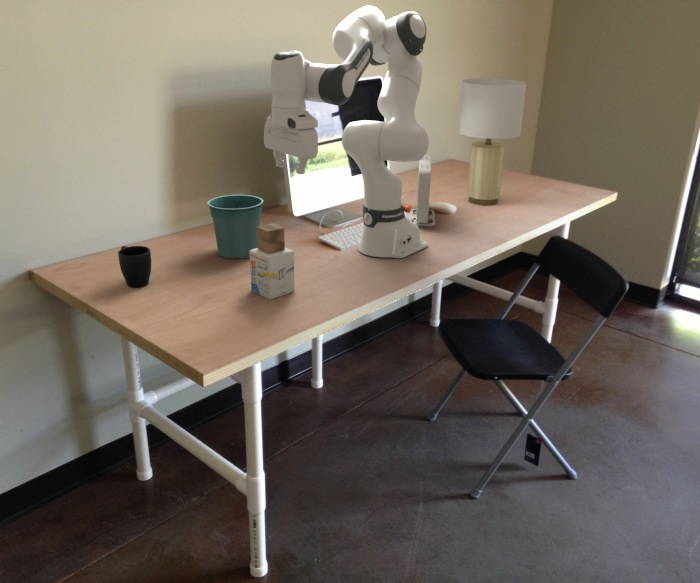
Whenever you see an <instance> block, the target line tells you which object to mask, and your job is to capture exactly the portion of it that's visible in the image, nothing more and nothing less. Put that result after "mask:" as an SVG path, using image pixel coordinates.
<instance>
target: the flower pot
mask: <svg viewBox="0 0 700 583" xmlns="http://www.w3.org/2000/svg"><path fill="white" fill-rule="evenodd" d="M263 204H264V199H263V198H261V197H259V196H256V195H249V194H230V195H229V194H227V195H221V196H217V197H213V198H211V199H209V200H208V201H207V206H208V207H209V211H210V212H209V213H210V216H211V218H212V222H213V228H214V229H213V230H214V234H215V240H216V247H217V248H216V249H217V252H218V255H219V256H221V257H222V258H225V259H231V260H232V259H236V258H239V259H247V258H248V259H249V258H250V252H249V250H252V249H255V248H258V241H257V227H258V226H261V225H260V224H261V223H260V222H261V215H262V208H263V207H262V206H263Z"/></svg>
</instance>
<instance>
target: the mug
mask: <svg viewBox="0 0 700 583" xmlns="http://www.w3.org/2000/svg"><path fill="white" fill-rule="evenodd" d="M117 255H118V263H119V268H120V271H121V273H122V276H123V278H124V280H125V283H126V285H127V287H129V288H132V289H140V288H145V287H146V286H148V285H149V283H150V279H151V278H150V277H151V273H152V254H151V249H150V247H147V246H143V245H133V246H132V245H131V246H126V245H122V246H121V247H120V249H119V250H118V252H117Z"/></svg>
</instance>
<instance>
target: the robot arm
mask: <svg viewBox="0 0 700 583" xmlns="http://www.w3.org/2000/svg"><path fill="white" fill-rule="evenodd" d="M424 20H425V19H423V17H422V16H421V15H420V14H419V13H417V11H413V10H411V11H404V12H402V13H399V15H396V16H392V18H389V19H387V20H386V18H385V15H384V14H383V12H382V11H381V10H380V9H379V8H377V7H376V6H373V5H365V6H363V7H360V8H358V9H356V10H355V11H353V12H352V13H350V14H349V15H347V16H346V18H344V19H343V20H342V21H341V22H340V23H339V24H338V25H337V26H336V28H335V29H334V31H333V34H332V45H333V49H334V51H335V53H336V54H337V56H338V57H339V58H340V59H341V60H343V62H342V63H338V64H326V63H315V62H311V61H309V60H307V59H305V58H304V56H303V53H302V52H301V51H298V50H296V49H295V50H282V51H279V52H277V53H275V54H273V56H272V59H271V64H270V65H271V66H270V92H271V94H272V101H271V113H269V114H268V115H267V117H266V121H265V123H264V130H263V144H264V147H265V148H267V149H269V150H272V154H273V158H274V161H275V166H276V168H280V169H281V168H284V167H285V160H284V159H283V156H282V154H286V155H289V156H292V157H296V158H297V161H298V165H297V166H296V167H295V173H296V174H298V175H303V174H305V173H306V165H307V163H308V161H309V160H313V159H316V157H317V156H318V153H319V135H318V131H317V130H316V129H317V128H318V126H319V121H318V119H317V118H316V117H315V116H313V115H312V114H311V113H310V112H309V111H308V110H307V106H306V105H307V104H306V101H307V102H308V101H309V102H312V103H313V102H314V103H315V102H316V103H325V104H329V105H334V106H337V107H338V106H342V105H344V104H346V103H347V102H348V101H349V100H350V98H351V97H352V95H353V93H354V90H355V87H356V85H357V83H358V82H359V80H360V79H361V77H362V76H363V74H364V73H365V71H366V70H367V68H368V67H369V65H371V66H373V67H375V66H377V67H378V66H382V65H386V64H387V63H388V64H387V67H388V69H387V72H386V74H385V77H384V80H383V82H382V86H381V89H380V93H379V96H378V99H377V108H378V111H379V113H380V114H381V116H383V118H385V119H386V120H387V121H379V120H367V119H363V120H356V121H351V122H349V123H348V124H346V126H345V128H344V129H343V131H342V135H341V145H342V147H343V150H344V152H345V153H346V154H347V155H348V156H349V157H351V158H352V159H353V160H354V162H355V164H357V166H358V168H359V170H360V172H361V175H362V179H363V187H364V188H363V190H364V203H363V205H362V221H363V223H362V230H361V235H360V239H359V245H358V248H357V250H358V251H359V253H361V254H363V255H366V256H369V257H374V258H394V259H402V258H403V259H404V258H406V257H408V256H409V255H412V254H414V253H416V252H418V251H420V250H421V251H422V250H423V249H425V248H427V247H428V242H427V241H426V240H424V239H422V238H421V231H420V228H419V226H417V225H416V224H414V223H415V222H414V221H413V222H412V221H410V218H408V217H407V216H406V215H405V213H408V214H410V212H411V210H412V207H411V206H410V205H407V204H405V205H402V194H403V193H402V188H403V184H402V181H401V179H400V177H399V176H398V175H397V174H396V173H395V172H393V171H391V170H390V169H389V168H388V167H387V165H386V162H385V161H387V162H397V163H398V162H399V163H408V162H409V163H411V162H416V161H418V162H419V160H421V159H422V158H423V157H424V155H427V152H428V149H429V145H430V138H429V136H428V133H427V131H426V129H425V128H424V127H423V126H421V125H420V124H419V122H418V121H417V119H416V117H415V110H416V109H415V108H416V102H417V99H418V95H419V92H420V89H421V85H422V84H421V83H422V76H423V66H422V63H421V61H420V60H419V58H417V56H420V54H421V53H422V52H423V50H424V44H425V42H426V39H427V25H426V23H425V21H424Z"/></svg>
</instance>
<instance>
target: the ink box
mask: <svg viewBox="0 0 700 583" xmlns="http://www.w3.org/2000/svg"><path fill="white" fill-rule="evenodd" d="M249 252H250V257H249V264H250V265H249V268H250V269H249V270H250V284H251V285H250V286H251V287H250V288H251V289H250V290H251V291H252V292H253V293H256V294H258V295H260V296H263V297H265V298H267V299H269V300H273V299H276V298H279V297H282V296H284V295H287V294H289V293H290V294H291V293H293V292H295V291H296V290H295V289H296V286H295V251H294V250H292V249H291V248H288V247H285V250H283V251H279V252H275V253H271V254H267V253H265V252H263V251H261V250H259V249H258V248H255V249H252V250H249Z"/></svg>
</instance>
